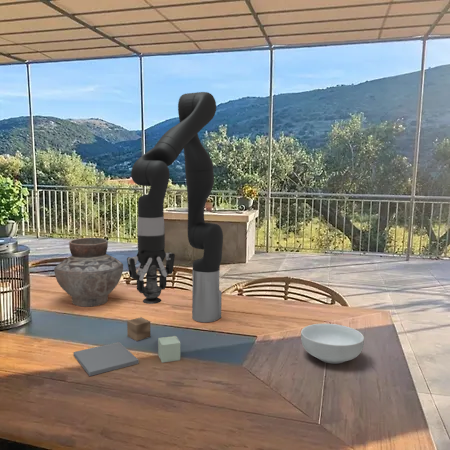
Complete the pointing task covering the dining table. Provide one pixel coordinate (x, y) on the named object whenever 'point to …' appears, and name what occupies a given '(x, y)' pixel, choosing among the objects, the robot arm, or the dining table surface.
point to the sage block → (169, 349)
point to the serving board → (105, 358)
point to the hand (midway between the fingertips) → (151, 290)
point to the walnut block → (138, 329)
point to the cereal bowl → (332, 342)
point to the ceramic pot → (89, 272)
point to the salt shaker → (152, 287)
